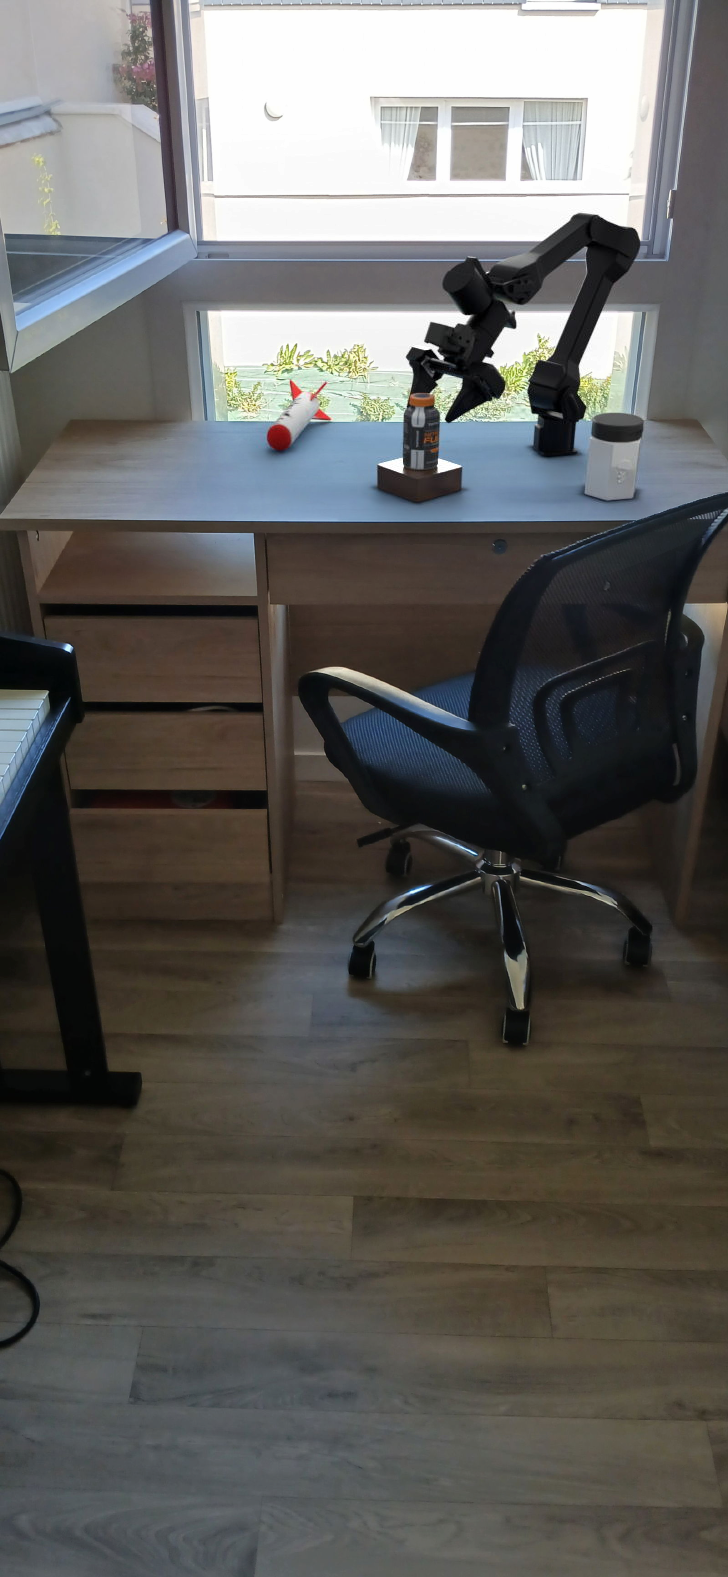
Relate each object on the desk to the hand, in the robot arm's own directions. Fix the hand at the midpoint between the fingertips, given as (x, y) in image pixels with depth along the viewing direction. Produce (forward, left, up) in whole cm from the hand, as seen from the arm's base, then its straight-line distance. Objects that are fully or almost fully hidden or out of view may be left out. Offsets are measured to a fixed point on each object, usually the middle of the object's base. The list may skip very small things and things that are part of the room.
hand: (427, 415), depth 187 cm
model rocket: (+15, -35, -12) cm, 40 cm away
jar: (-29, +11, -12) cm, 33 cm away
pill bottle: (+1, +1, -8) cm, 8 cm away
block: (+1, +1, -12) cm, 12 cm away
